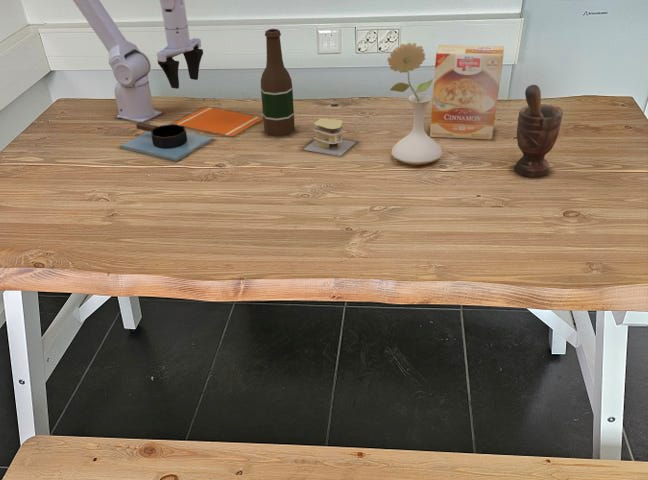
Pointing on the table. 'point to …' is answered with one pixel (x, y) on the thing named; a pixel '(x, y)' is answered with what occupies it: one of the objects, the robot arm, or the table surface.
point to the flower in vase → (416, 143)
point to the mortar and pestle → (536, 133)
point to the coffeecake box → (465, 91)
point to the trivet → (175, 154)
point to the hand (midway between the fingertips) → (184, 83)
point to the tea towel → (218, 121)
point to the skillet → (165, 135)
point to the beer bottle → (276, 90)
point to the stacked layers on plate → (329, 138)
